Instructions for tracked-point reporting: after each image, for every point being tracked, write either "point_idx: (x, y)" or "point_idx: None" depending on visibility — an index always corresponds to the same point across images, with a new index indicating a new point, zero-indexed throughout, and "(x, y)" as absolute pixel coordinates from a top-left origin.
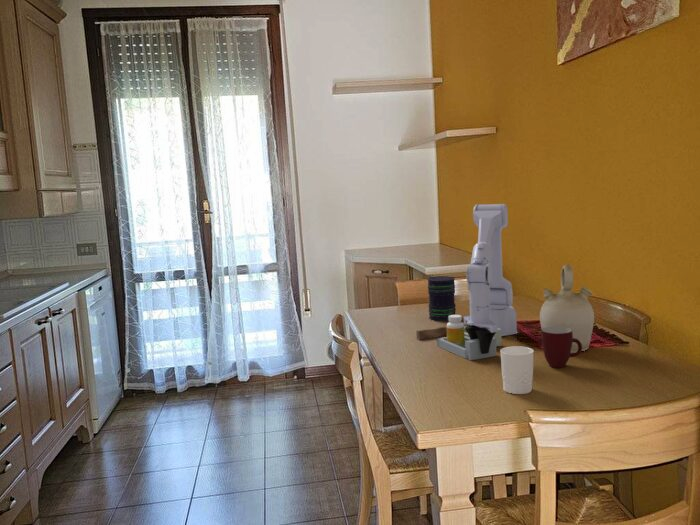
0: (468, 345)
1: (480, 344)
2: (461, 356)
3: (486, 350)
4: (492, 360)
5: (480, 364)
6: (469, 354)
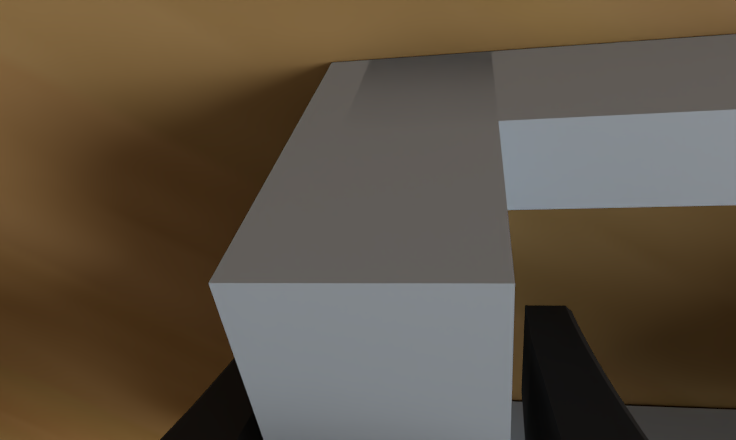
0: (303, 215)
1: (214, 430)
2: (648, 42)
3: None
4: None
5: (72, 101)
6: (320, 106)
